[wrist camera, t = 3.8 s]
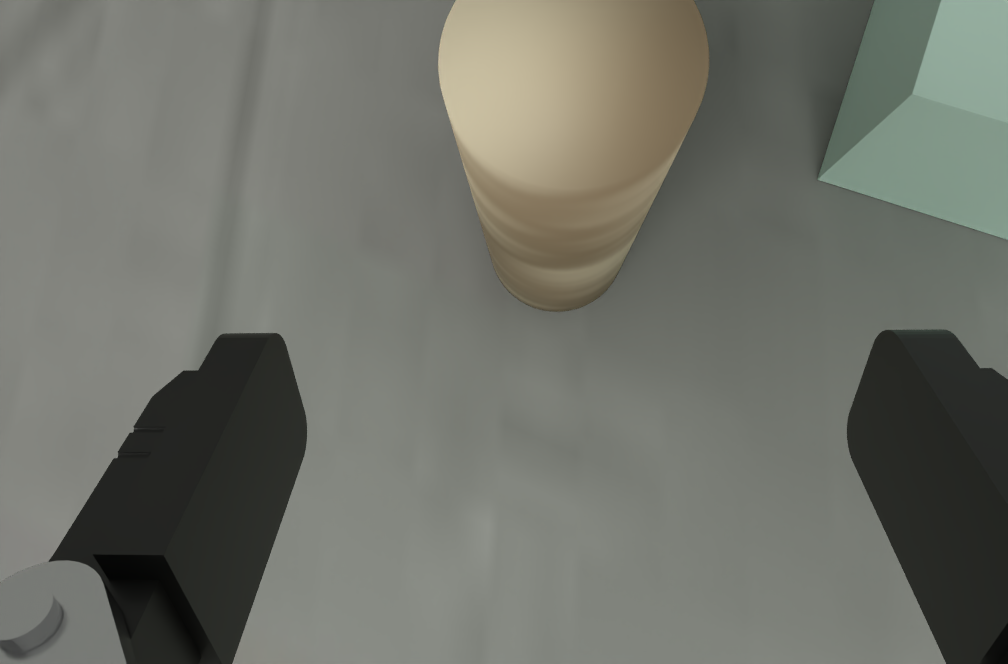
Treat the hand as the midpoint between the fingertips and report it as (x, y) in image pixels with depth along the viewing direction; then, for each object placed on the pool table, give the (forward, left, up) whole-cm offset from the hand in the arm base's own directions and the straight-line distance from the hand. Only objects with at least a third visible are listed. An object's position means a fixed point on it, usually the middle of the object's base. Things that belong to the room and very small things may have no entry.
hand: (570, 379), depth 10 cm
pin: (-1, +4, -9) cm, 10 cm away
